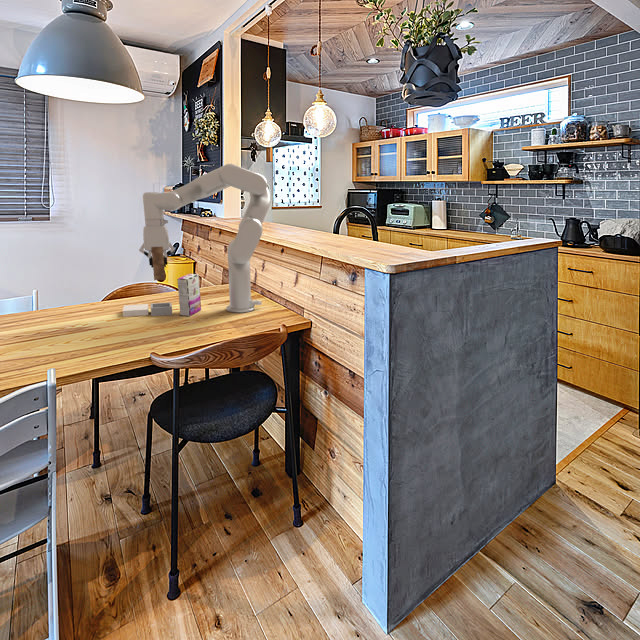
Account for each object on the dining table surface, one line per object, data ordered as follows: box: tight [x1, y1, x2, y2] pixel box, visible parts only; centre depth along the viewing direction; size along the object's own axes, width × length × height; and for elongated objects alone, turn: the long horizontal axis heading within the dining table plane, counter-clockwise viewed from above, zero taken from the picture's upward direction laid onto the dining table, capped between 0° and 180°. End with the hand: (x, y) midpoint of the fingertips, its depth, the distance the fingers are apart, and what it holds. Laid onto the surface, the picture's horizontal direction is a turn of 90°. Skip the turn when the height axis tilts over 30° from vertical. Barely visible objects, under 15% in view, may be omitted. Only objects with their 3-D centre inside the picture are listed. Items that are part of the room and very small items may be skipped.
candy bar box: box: [177, 273, 202, 317], centre depth 203 cm, size 11×5×16 cm, turn 168°
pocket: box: [150, 301, 173, 317], centre depth 203 cm, size 9×9×4 cm
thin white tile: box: [122, 303, 149, 318], centre depth 203 cm, size 10×10×2 cm
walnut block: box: [151, 247, 166, 281], centre depth 198 cm, size 4×4×14 cm
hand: (158, 266), depth 198 cm, fingers closed on walnut block, 4 cm apart
